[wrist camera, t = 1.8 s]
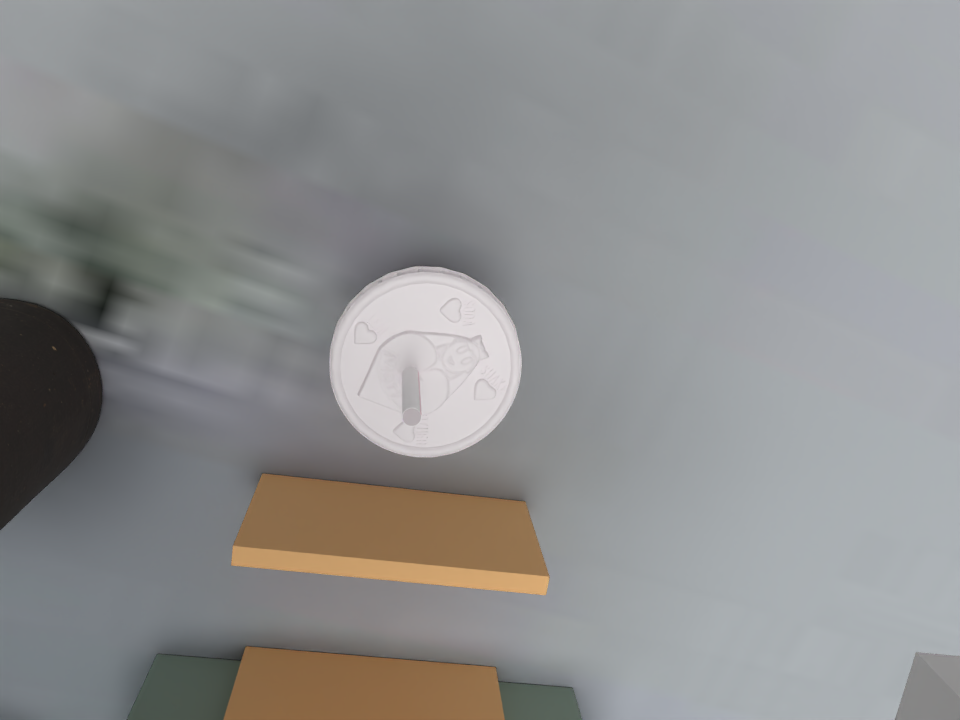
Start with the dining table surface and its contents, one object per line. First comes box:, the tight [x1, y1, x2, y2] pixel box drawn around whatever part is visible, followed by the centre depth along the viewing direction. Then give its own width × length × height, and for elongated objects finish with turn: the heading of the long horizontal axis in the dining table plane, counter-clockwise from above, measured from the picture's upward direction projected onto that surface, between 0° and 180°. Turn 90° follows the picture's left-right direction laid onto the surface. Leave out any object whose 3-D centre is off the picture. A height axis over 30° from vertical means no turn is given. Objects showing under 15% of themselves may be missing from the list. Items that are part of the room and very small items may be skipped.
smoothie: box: [329, 266, 522, 457], centre depth 31 cm, size 6×6×14 cm
